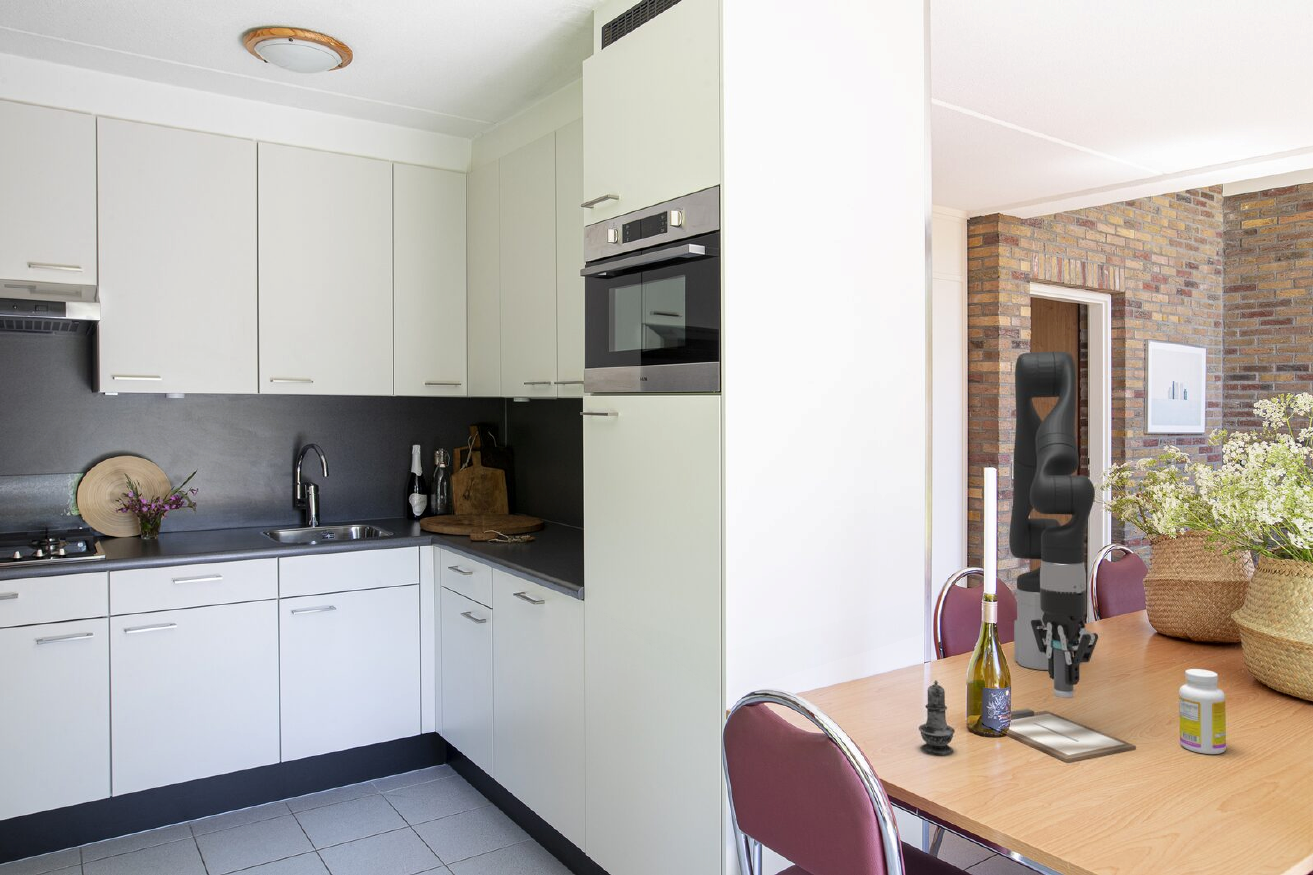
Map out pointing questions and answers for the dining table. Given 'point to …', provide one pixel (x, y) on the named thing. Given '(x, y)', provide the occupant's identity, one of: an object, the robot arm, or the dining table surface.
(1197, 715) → the supplement bottle
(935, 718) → the salt shaker
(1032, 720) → the clipboard
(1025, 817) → the dining table surface
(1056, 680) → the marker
